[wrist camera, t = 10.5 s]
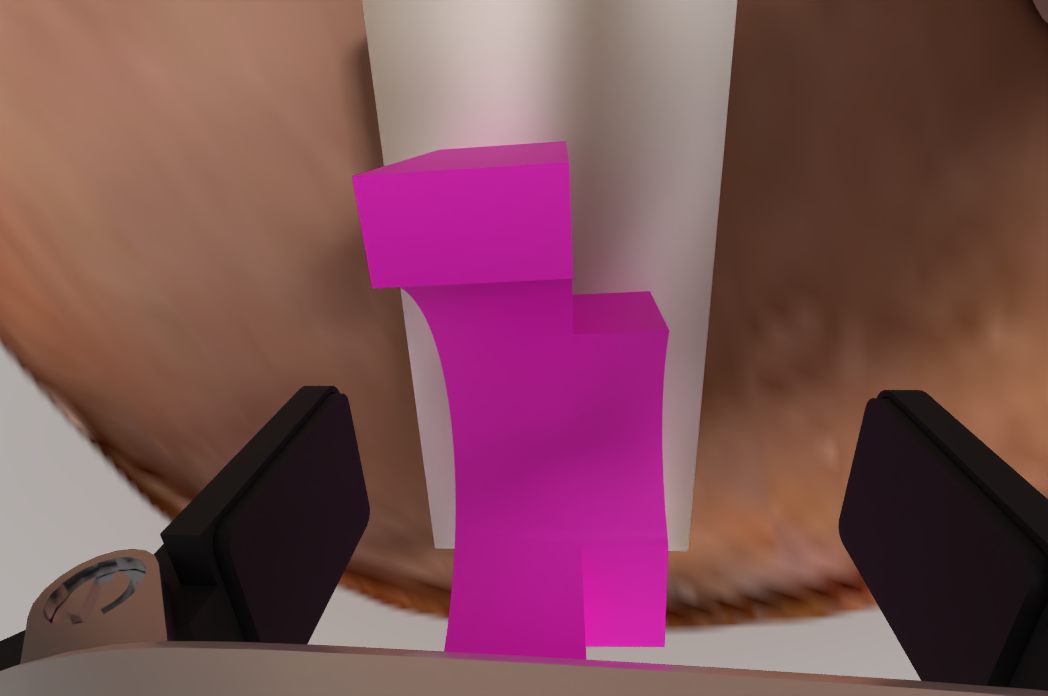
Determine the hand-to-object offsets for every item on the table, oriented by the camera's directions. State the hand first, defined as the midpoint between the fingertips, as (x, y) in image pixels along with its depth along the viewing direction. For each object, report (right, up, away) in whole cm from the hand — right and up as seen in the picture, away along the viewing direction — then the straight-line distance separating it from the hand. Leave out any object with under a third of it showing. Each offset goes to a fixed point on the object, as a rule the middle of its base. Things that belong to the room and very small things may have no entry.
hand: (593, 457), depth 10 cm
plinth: (0, +4, +11) cm, 12 cm away
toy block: (0, +1, +9) cm, 9 cm away
